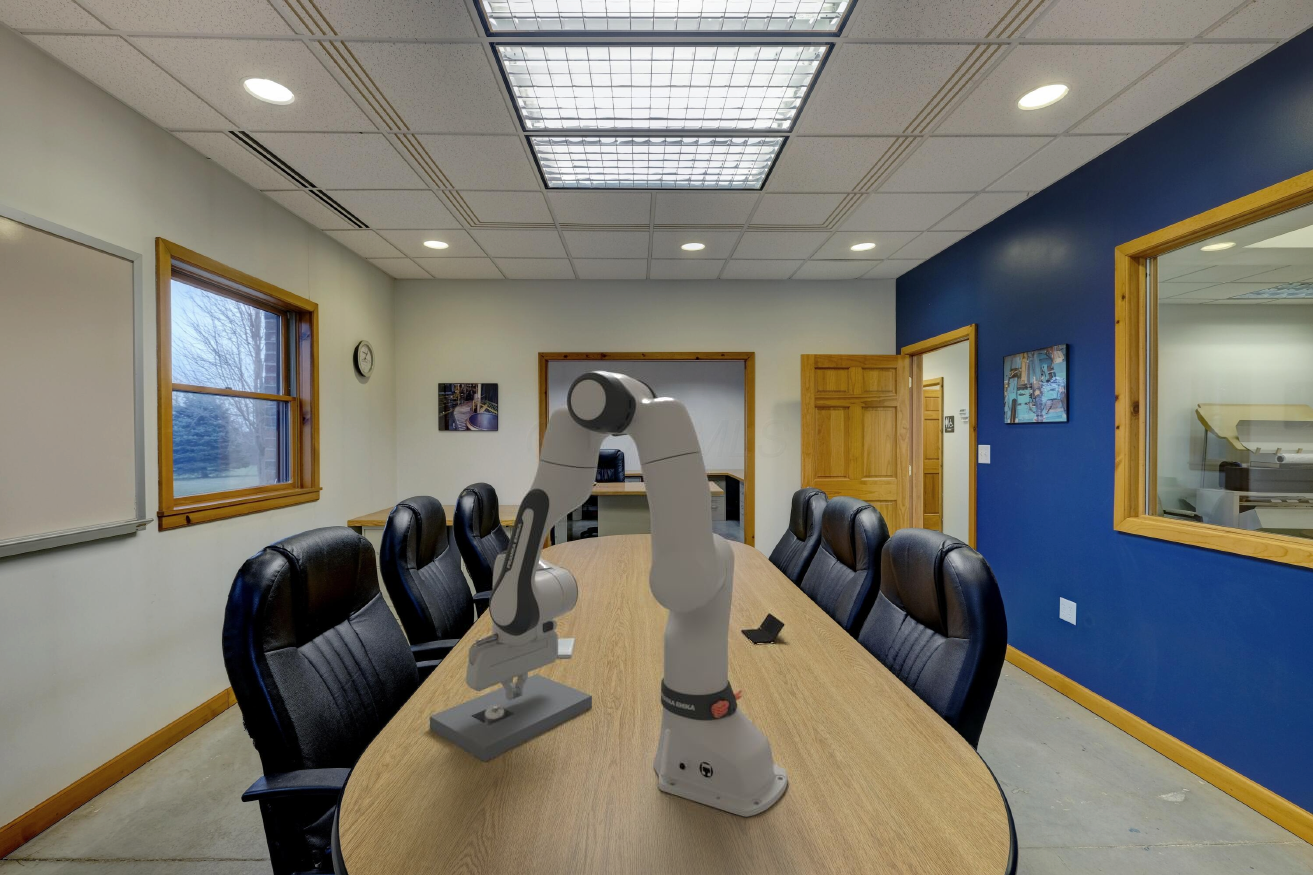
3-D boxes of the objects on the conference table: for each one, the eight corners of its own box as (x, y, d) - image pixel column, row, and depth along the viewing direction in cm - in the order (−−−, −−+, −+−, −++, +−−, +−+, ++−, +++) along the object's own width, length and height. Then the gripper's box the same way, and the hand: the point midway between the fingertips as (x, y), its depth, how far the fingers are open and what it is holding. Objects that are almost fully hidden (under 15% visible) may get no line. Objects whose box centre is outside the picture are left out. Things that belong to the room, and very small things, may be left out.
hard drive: (545, 638, 156) (539, 654, 143) (574, 638, 156) (571, 653, 144) (545, 644, 156) (539, 661, 143) (574, 644, 156) (571, 660, 144)
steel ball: (512, 711, 109) (498, 705, 106) (502, 732, 107) (487, 727, 105) (500, 705, 111) (486, 699, 109) (490, 726, 110) (476, 721, 107)
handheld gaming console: (734, 628, 164) (754, 600, 165) (750, 640, 166) (770, 612, 167) (754, 646, 153) (775, 616, 154) (771, 659, 155) (791, 629, 157)
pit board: (591, 707, 116) (592, 695, 116) (484, 762, 96) (484, 747, 96) (536, 684, 127) (536, 673, 127) (429, 729, 107) (429, 716, 107)
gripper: (479, 645, 102) (478, 721, 101) (563, 619, 118) (562, 685, 117) (459, 638, 106) (459, 711, 105) (543, 613, 122) (543, 677, 121)
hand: (514, 697), depth 112 cm, fingers closed
